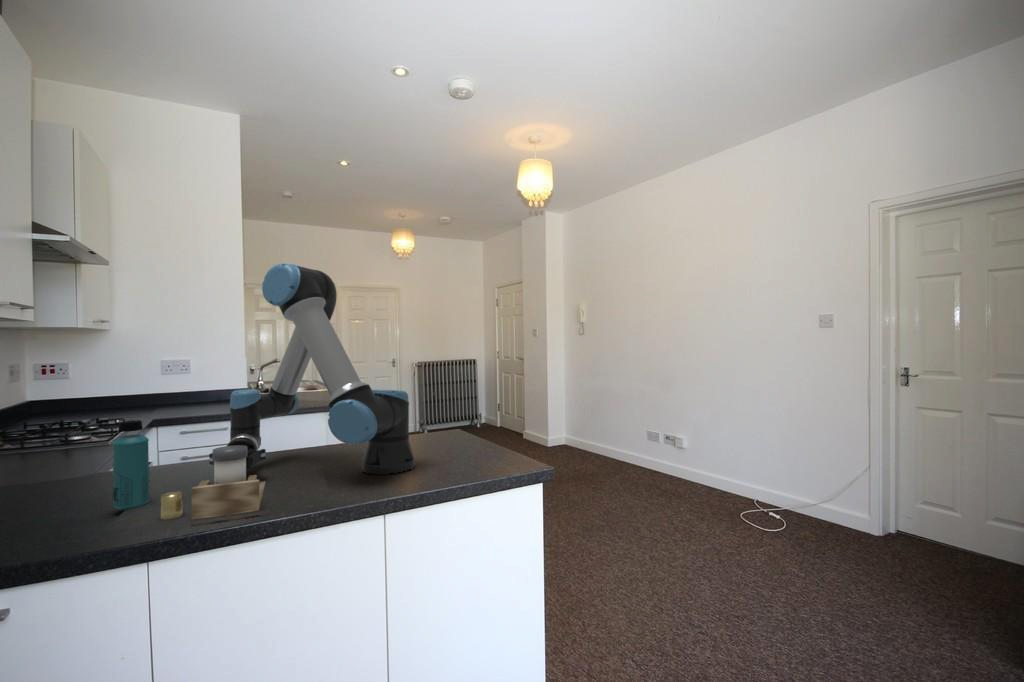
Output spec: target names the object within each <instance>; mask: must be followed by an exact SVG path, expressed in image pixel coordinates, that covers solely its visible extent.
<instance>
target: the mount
mask: <svg viewBox="0 0 1024 682" xmlns="http://www.w3.org/2000/svg"><path fill="white" fill-rule="evenodd" d="M257 475H258V474H253V475H248V478H247V479H246V481H241V482H232V483H223V484H214V483H213V484H211V479H207V480H205V479H204V480H201V481H200V482H199V484H198V485H197V486H192V487H191V496H190V497H191V520H197V519H198V520H199V519H205V518H206V519H208V518H213V517H214V518H215V517H221V516H229V515H235V514H236V515H237V514H243V513H244V514H245V513H251V512H259V511H260V507H261V504H262V498H263V494H264V490H265V486H266V480H264V481H260V479H257V478H258V476H257ZM255 517H260V514H256V515H251V516H242V517H241V516H240V517H235V518H228V519H220V520H213V521H205V522H199V523H192V524H190V526H191V527H190V528H193V527H201V526H208V525H214V524H222V522H223V523H229V521H230V522H236V521H235V520H237V521H241V520H240V519H245V520H249V519H248V518H252V519H256V518H255Z"/></svg>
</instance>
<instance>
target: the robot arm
mask: <svg viewBox="0 0 1024 682" xmlns="http://www.w3.org/2000/svg"><path fill="white" fill-rule="evenodd" d="M261 288H262V289H261V291H262V295H263V298H264V299H265V300H266V302H267V303H268V304H270V305H272V306H274V307H278V308H279V310H280V312H281V313H282V315H283V318H284V319H285V320H287V321H290V322H292V323H293V324H294V330H293V332H292V335H291V337H290V340H289V341H288V345H287V346H286V350H285V351H284V354H283V356H282V359H281V361H280V364H279V366H278V370H277V371H276V374H275V377H274V379H273V381H272V384H271V386H270V389H269V391H268V393H264V394H261V392H260V390H258V389H257V388H255V389H253V388H251V389H249V388H247V389H236V390H234V391H232V392H231V393H230V399H229V400H230V401H229V410H230V430H229V431H230V432H229V435H230V436H229V437H230V438H229V442H228V443H227V445H226V446H233V445H244V446H247V457H246V469H251V468H252V467H254V466H255V465H256V464H258V463H259V462H261V461H264V460H267V454H266V453H267V452H266V451H267V450H266V449H265V448H262V449H260V447H261V446H262V445H261V443H262V437H261V420H266V419H271V418H277V417H284V416H286V415H287V416H288V415H290V414H293V413H294V412H296V411H297V409H298V407H299V404H300V403H299V397H298V394H297V392H298V389H299V387H300V386H301V385H300V384H301V383H302V379H303V378H304V375H305V372H306V371H307V368H308V366H309V363H310V361H311V360H312V362H313V364H314V366H315V368H316V370H317V371H318V374H319V376H320V377H321V380H322V382H323V384H324V386H325V387H326V389H327V392H328V394H329V397H330V398H329V400H328V403H327V405H328V408H329V413H328V417H329V418H328V419H327V424H328V427H329V430H330V432H331V433H332V435H333V436H334V437H335V439H337V440H338V441H339V442H342V443H344V444H346V445H347V444H348V445H357V444H364V443H367V446H366V449H365V452H364V455H363V458H362V461H361V471H362V472H364V473H366V474H369V473H370V475H391V474H390V473H395V474H399V473H398V472H401V473H404V472H403V471H405V472H408V471H407V470H409V469H411V468H413V467H414V466H415V467H416V459H415V456H414V452H413V449H412V447H411V444H410V436H409V435H410V429H409V428H410V427H409V425H410V424H409V423H410V421H409V419H410V417H409V416H410V415H409V414H410V412H409V411H410V410H409V409H410V407H409V405H410V402H409V394H408V392H407V391H405V390H400V389H399V390H397V389H396V390H394V389H393V390H392V389H372V388H371V386H370V384H369V383H366V382H363V381H362V380H361V378H360V377H359V375H358V374H357V371H356V369H355V367H354V366H353V364H352V361H351V360H350V358H349V356H348V354H347V352H346V349H345V348H344V346H343V344H342V342H341V340H340V338H339V337H338V334H337V333H336V330H335V329H334V327H333V325H332V323H331V320H332V317H333V315H334V312H335V309H336V306H337V305H336V304H337V296H338V295H337V294H338V293H337V289H336V288H337V287H336V285H335V282H334V281H333V279H332V278H331V277H330V276H329V275H328V274H327V273H325V272H323V271H321V270H318V269H311V268H309V267H308V268H307V267H304V266H301V265H296V264H293V263H278V264H275V265H273V266H272V267H270V269H269V270H268V271H267V272H266V274H265V275H264V278H263V281H262V286H261ZM208 457H209V459H208V461H209V462H208V464H209V465H212V466H213V467H214V460H213V452H211V453H209V456H208ZM415 467H414V468H415ZM414 468H413V469H414ZM411 470H412V469H411ZM409 471H410V470H409Z"/></svg>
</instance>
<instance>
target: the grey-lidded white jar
mask: <svg viewBox="0 0 1024 682" xmlns="http://www.w3.org/2000/svg"><path fill="white" fill-rule="evenodd" d="M212 453H213V460H214V466H213V472H214V473H213V475H214V477H213V479H214V483H213V485H214V484H223V483H232V482H241V481H247V468H246V457H247V446H244V445H233V446H227V445H225V446H220V447H216V448H213V449H212Z"/></svg>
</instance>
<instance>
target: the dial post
mask: <svg viewBox="0 0 1024 682" xmlns="http://www.w3.org/2000/svg"><path fill="white" fill-rule="evenodd" d="M182 516H183V492H182V491H169V492H166V493H163V494H161V495H160V519H161V520H173V519H178V518H180V517H182Z"/></svg>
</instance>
